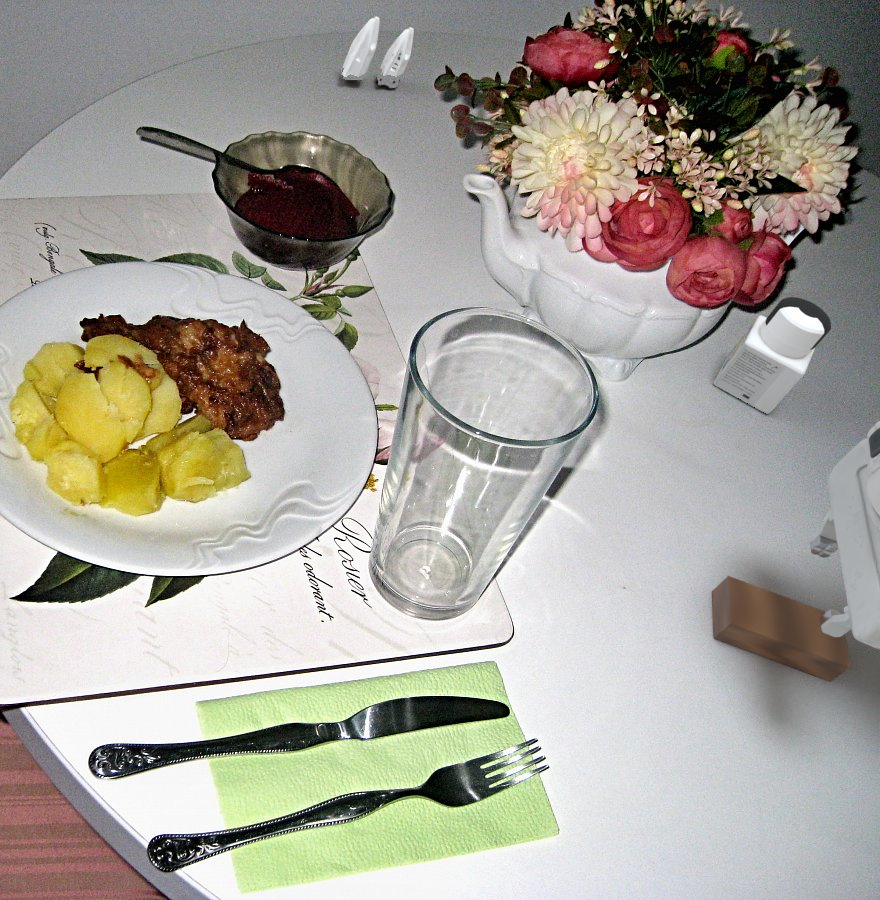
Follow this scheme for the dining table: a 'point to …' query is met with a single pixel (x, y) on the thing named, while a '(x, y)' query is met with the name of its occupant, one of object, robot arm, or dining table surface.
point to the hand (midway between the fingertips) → (822, 587)
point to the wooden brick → (777, 629)
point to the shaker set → (366, 47)
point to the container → (774, 353)
